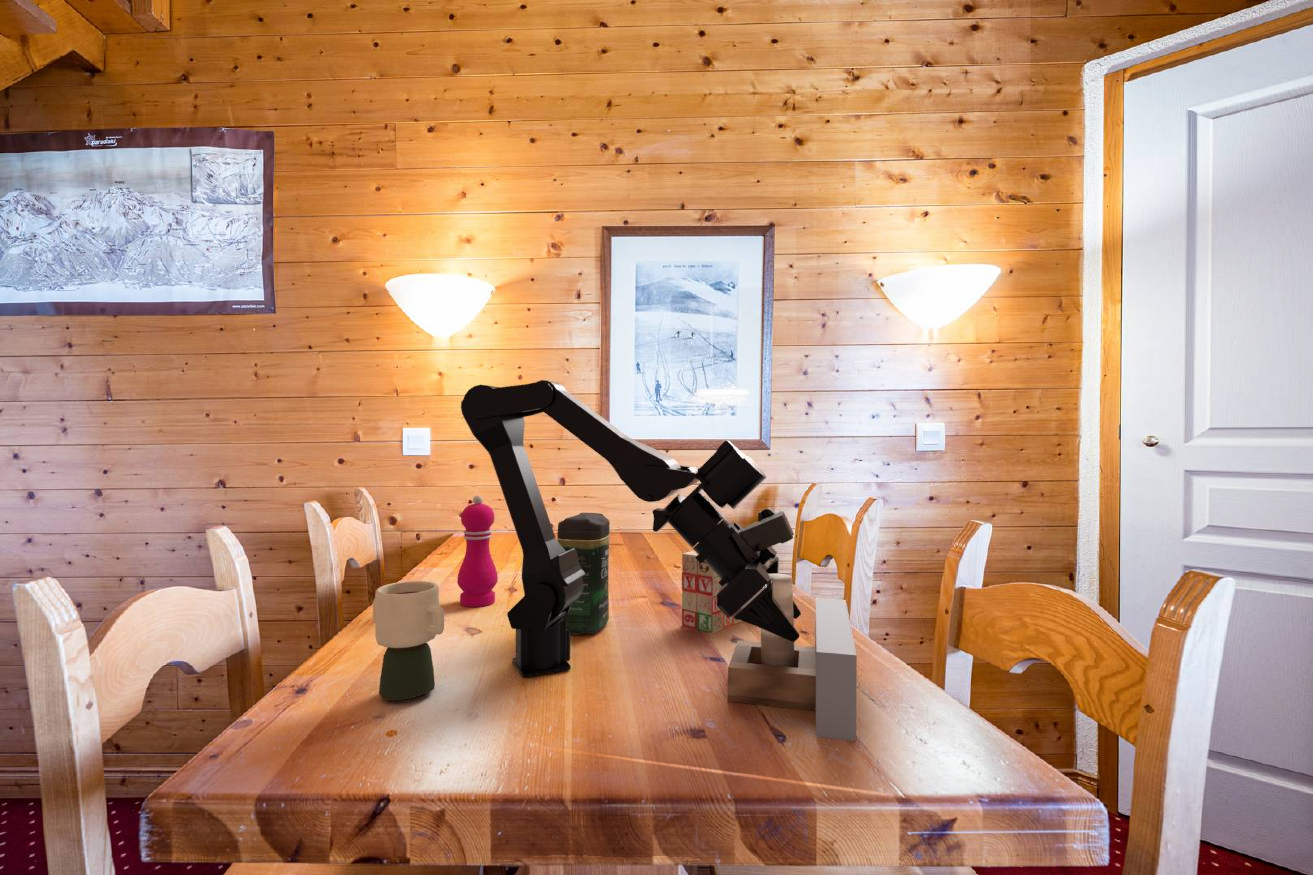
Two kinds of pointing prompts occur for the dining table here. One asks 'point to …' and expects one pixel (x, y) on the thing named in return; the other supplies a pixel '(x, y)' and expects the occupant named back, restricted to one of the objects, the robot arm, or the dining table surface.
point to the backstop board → (835, 671)
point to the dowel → (773, 645)
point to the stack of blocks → (702, 596)
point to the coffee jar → (588, 570)
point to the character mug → (407, 636)
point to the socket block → (772, 678)
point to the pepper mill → (477, 556)
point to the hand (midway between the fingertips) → (797, 627)
